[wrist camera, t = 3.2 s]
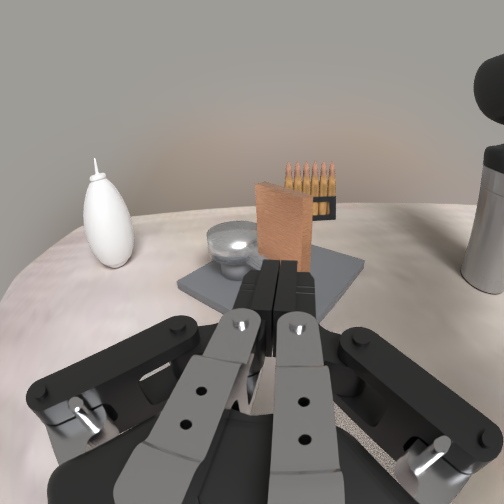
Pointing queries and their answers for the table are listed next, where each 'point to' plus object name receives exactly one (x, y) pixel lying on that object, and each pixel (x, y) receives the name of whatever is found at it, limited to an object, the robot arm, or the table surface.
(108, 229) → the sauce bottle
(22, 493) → the table surface
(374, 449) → the table surface
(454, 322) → the table surface
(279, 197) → the twist collar
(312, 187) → the ammunition clip
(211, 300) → the lock base
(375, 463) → the robot arm
